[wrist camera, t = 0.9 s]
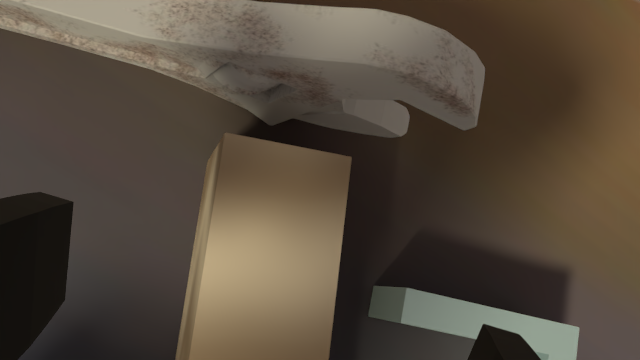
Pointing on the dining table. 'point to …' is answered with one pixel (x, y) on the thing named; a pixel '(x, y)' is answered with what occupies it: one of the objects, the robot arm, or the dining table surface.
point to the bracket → (471, 320)
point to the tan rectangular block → (265, 253)
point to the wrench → (277, 56)
